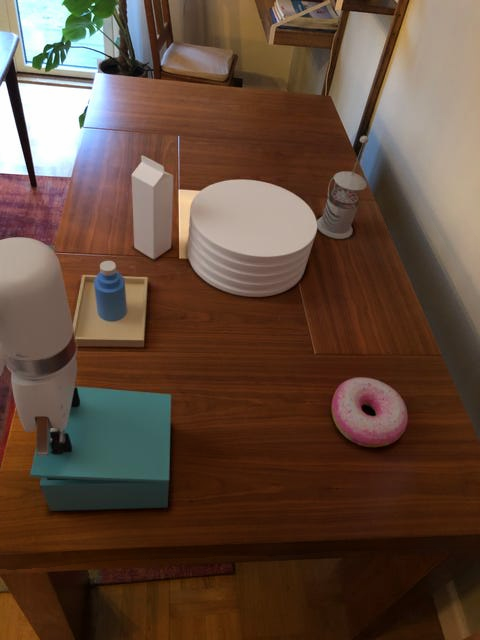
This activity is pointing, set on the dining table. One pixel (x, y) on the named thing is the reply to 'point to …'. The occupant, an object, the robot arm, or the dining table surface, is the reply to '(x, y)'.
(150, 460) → the lid
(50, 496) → the teal wooden box
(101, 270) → the bottle
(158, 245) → the milk
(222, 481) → the dining table surface
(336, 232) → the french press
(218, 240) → the plate stack
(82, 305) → the tray
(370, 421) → the donut
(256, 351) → the dining table surface
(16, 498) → the dining table surface
